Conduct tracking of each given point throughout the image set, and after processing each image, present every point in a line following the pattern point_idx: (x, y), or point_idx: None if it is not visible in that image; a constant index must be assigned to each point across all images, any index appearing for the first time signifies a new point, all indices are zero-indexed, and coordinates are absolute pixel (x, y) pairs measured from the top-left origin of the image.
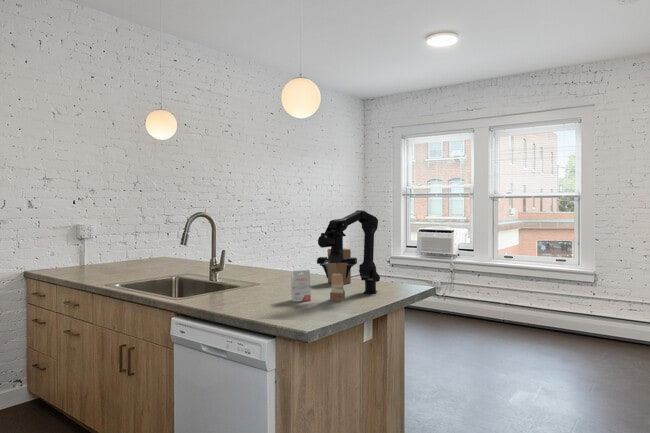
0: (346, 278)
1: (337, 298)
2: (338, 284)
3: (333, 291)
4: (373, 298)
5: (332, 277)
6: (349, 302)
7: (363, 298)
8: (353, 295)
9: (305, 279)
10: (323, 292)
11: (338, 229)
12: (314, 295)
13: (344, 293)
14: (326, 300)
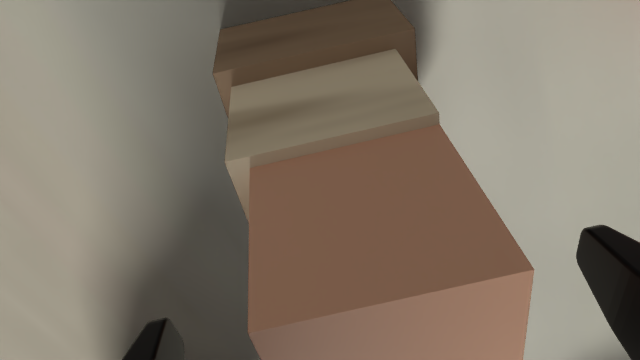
0: (151, 326)
1: (289, 28)
2: (298, 157)
3: (368, 64)
4: (22, 289)
5: (475, 224)
6: (105, 14)
7: (106, 255)
8: None
9: None
10: (547, 301)
11: None
12: (617, 182)
13: None
14: (440, 6)
